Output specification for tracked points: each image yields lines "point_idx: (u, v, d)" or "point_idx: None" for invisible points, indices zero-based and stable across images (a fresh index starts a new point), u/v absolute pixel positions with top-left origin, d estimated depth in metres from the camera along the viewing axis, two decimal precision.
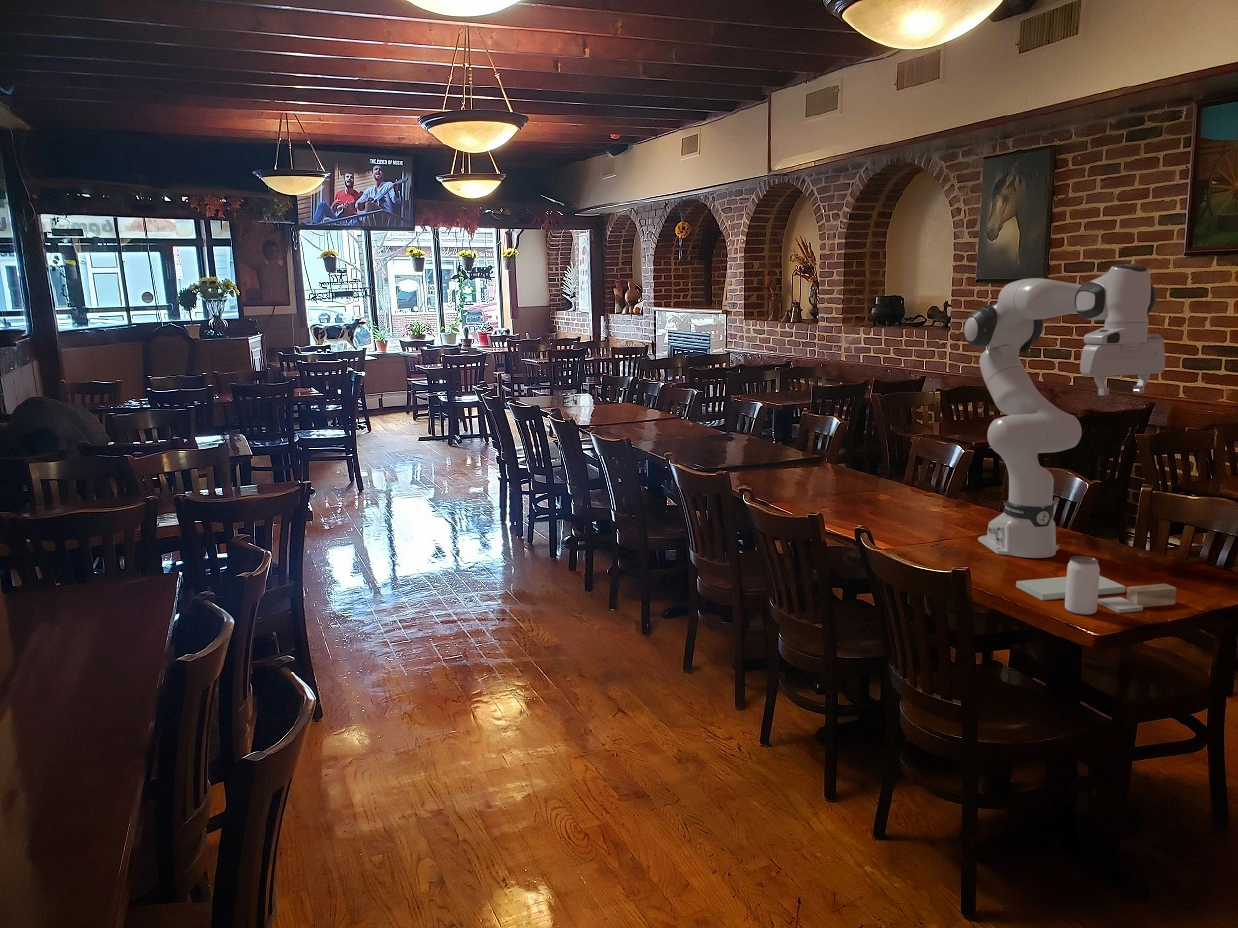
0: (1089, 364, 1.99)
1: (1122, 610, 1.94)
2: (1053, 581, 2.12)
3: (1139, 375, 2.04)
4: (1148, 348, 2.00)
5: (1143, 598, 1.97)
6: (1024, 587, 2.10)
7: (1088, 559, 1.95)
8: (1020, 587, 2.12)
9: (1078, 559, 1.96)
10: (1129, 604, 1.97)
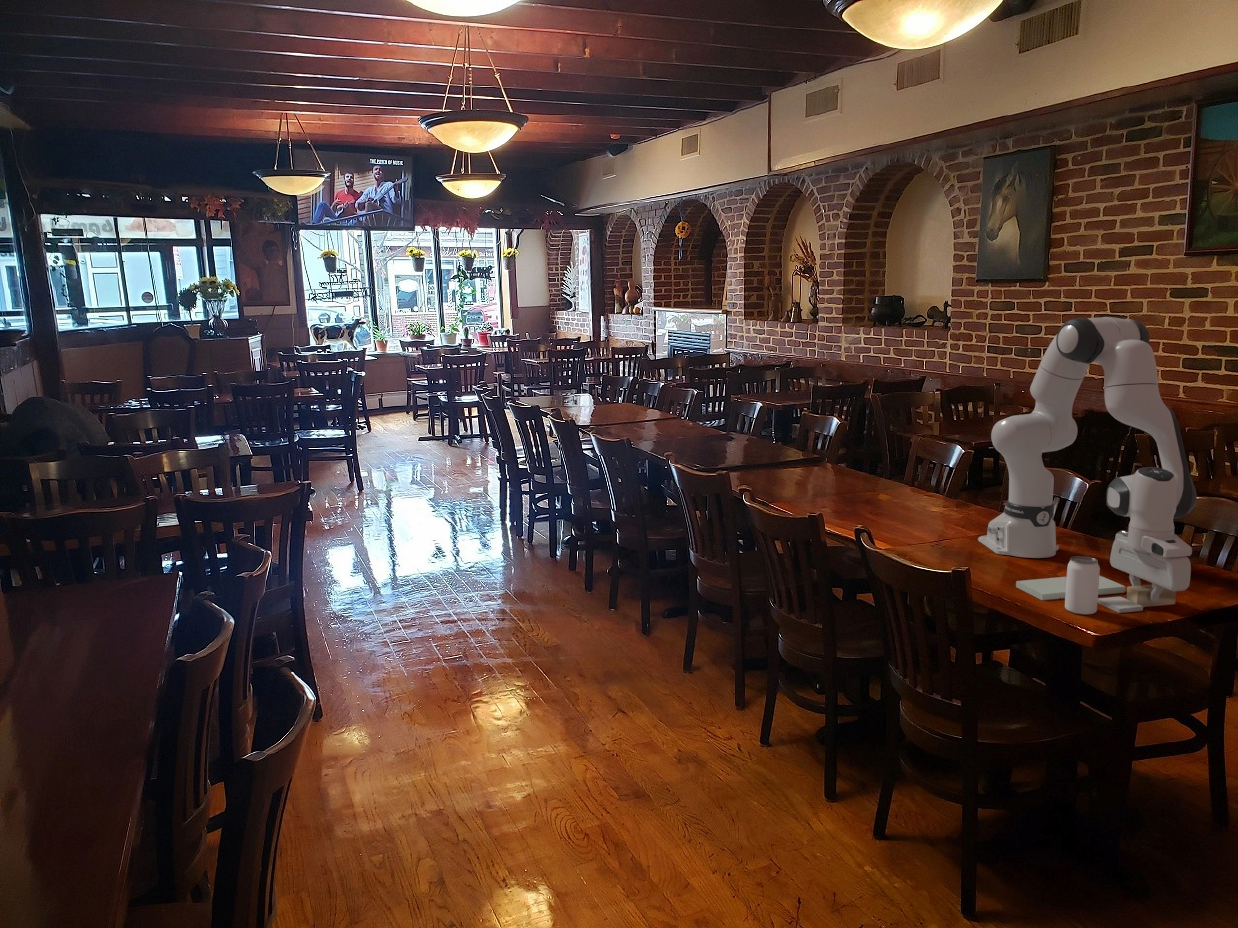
0: (1187, 579, 1.88)
1: (1122, 610, 1.94)
2: (1053, 581, 2.12)
3: (1135, 576, 2.01)
4: None
5: (1143, 598, 1.97)
6: (1024, 587, 2.10)
7: (1088, 559, 1.95)
8: (1020, 587, 2.12)
9: (1078, 559, 1.96)
10: (1129, 604, 1.97)
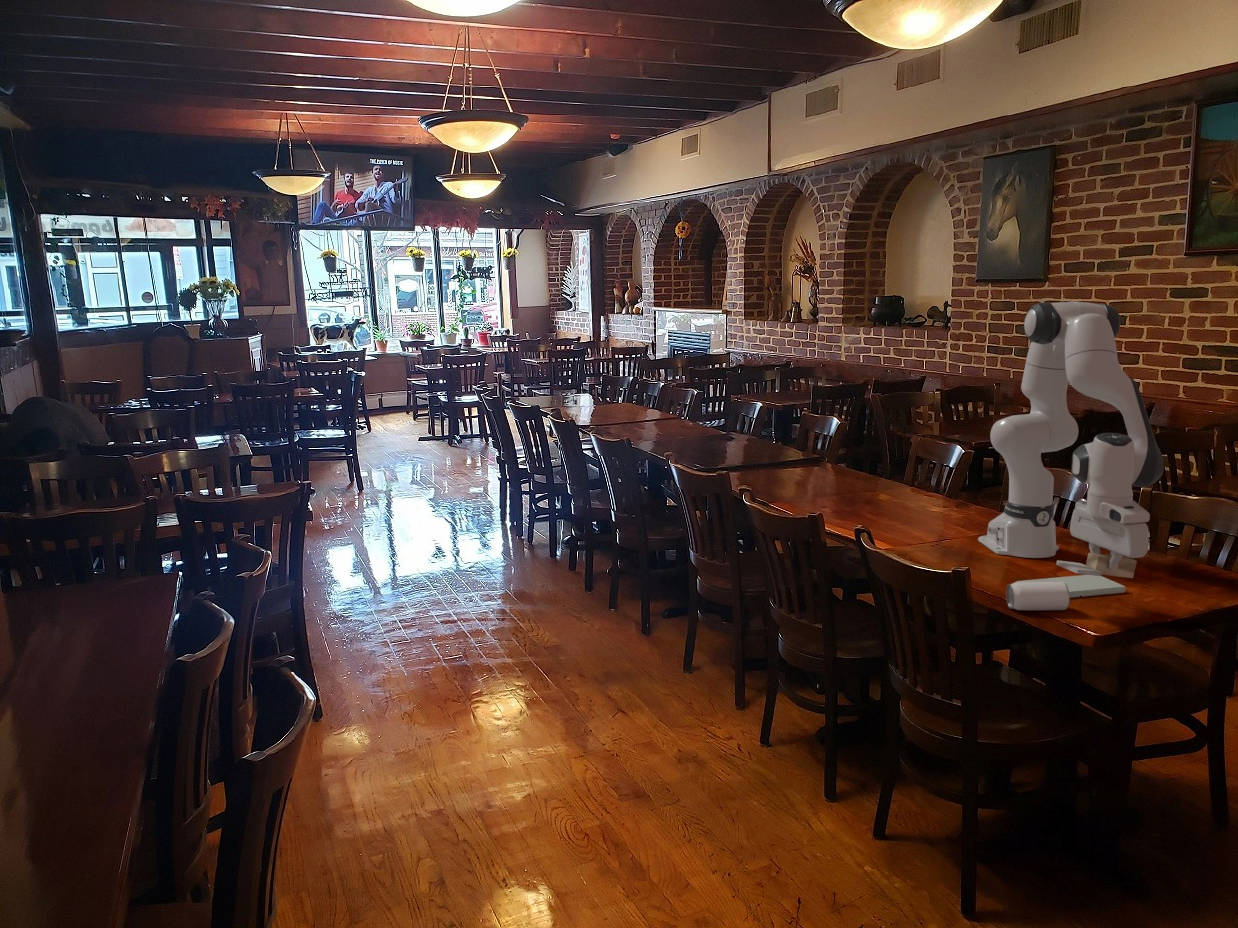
0: (1145, 545, 1.85)
1: (1080, 571, 1.91)
2: (1053, 581, 2.12)
3: (1095, 545, 1.97)
4: None
5: (1103, 565, 1.94)
6: None
7: (1009, 589, 2.00)
8: None
9: (1009, 597, 2.00)
10: (1088, 568, 1.93)
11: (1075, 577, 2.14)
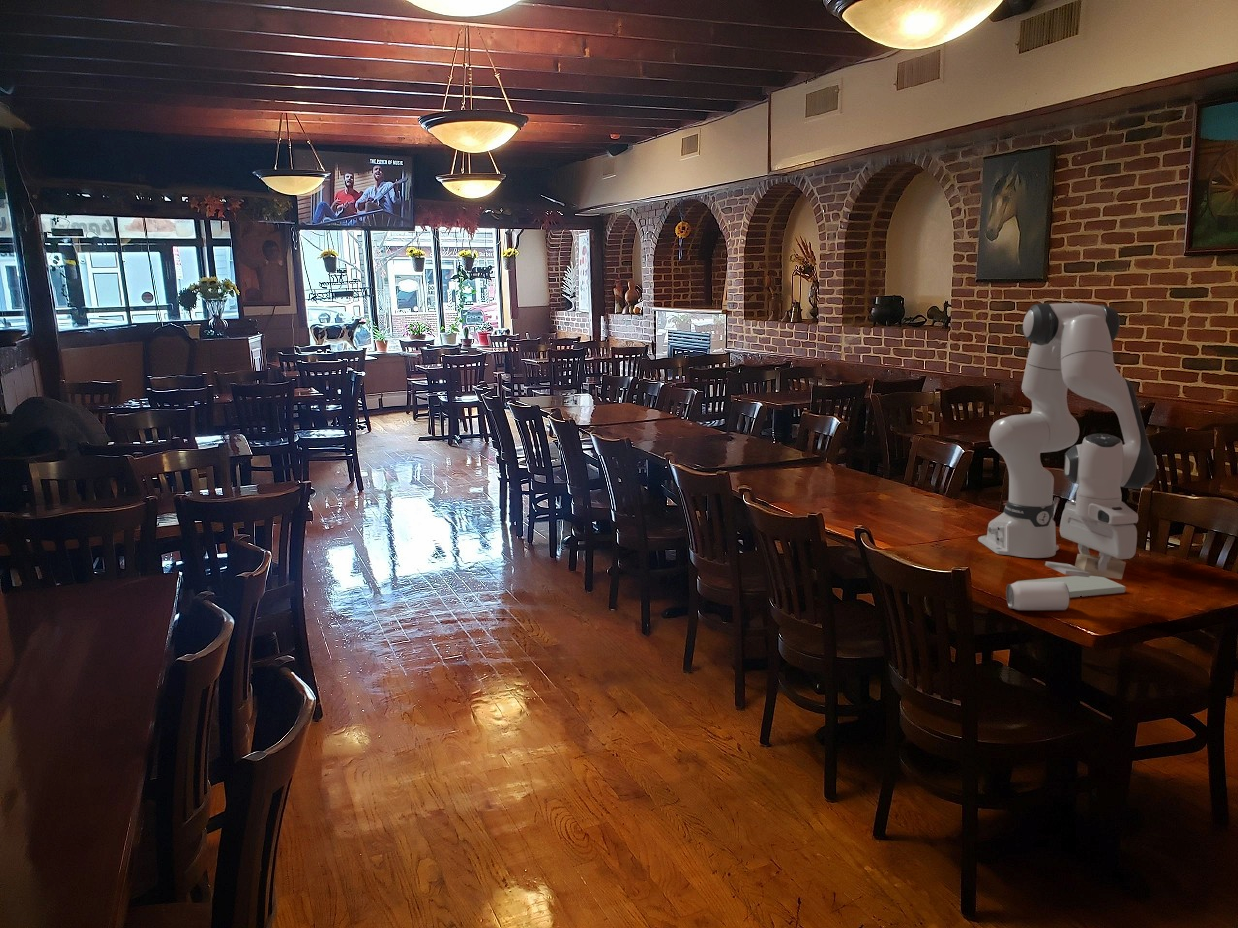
0: (1133, 546, 1.84)
1: (1069, 572, 1.90)
2: (1053, 581, 2.12)
3: (1084, 546, 1.97)
4: None
5: (1091, 566, 1.93)
6: None
7: (1009, 589, 2.00)
8: None
9: (1009, 597, 2.00)
10: (1077, 569, 1.93)
11: (1075, 577, 2.14)
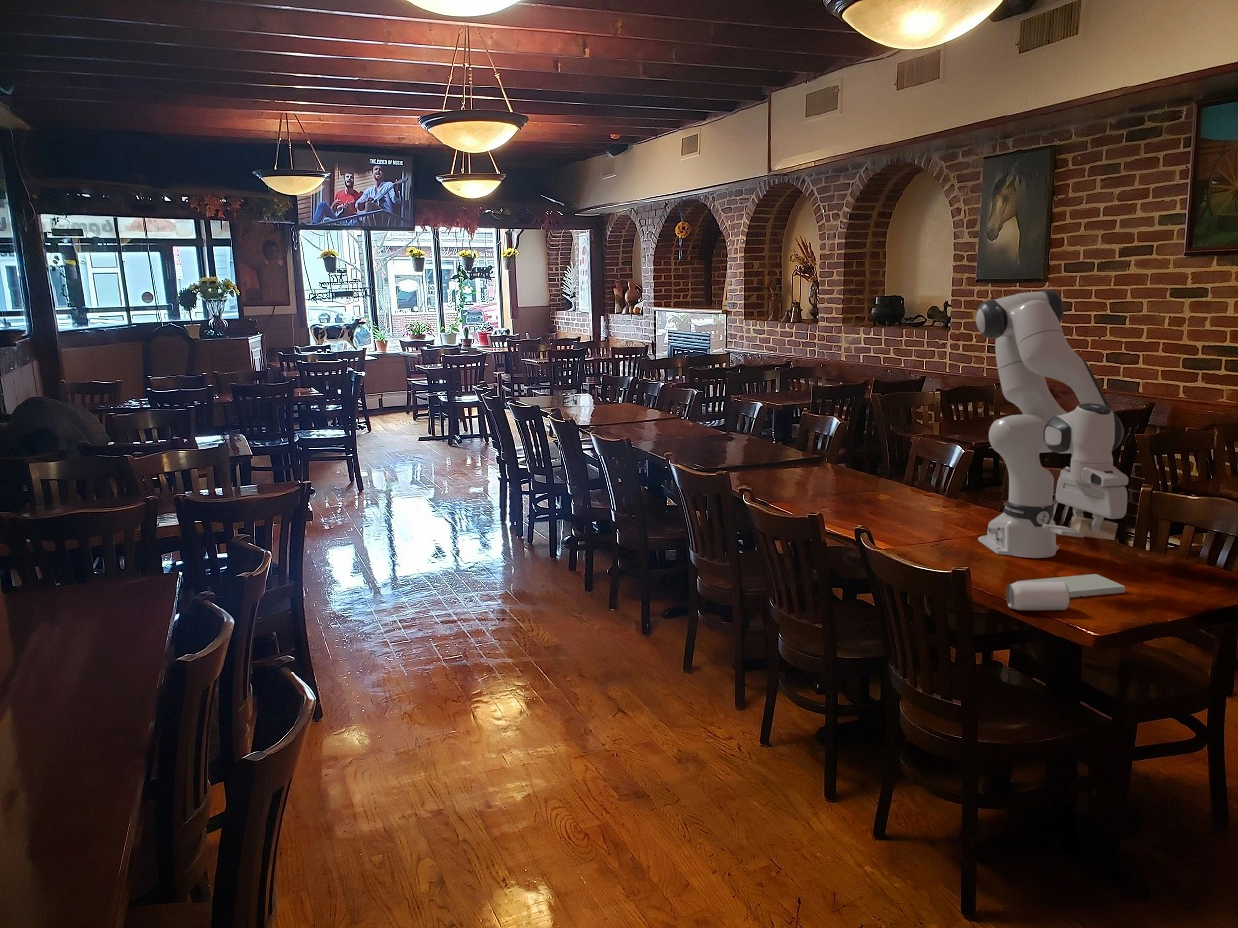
0: (1124, 507, 1.97)
1: (1064, 532, 2.03)
2: (1053, 581, 2.12)
3: (1078, 509, 2.10)
4: None
5: (1086, 527, 2.06)
6: None
7: (1009, 589, 2.00)
8: None
9: (1009, 597, 2.00)
10: (1072, 530, 2.06)
11: (1075, 577, 2.14)
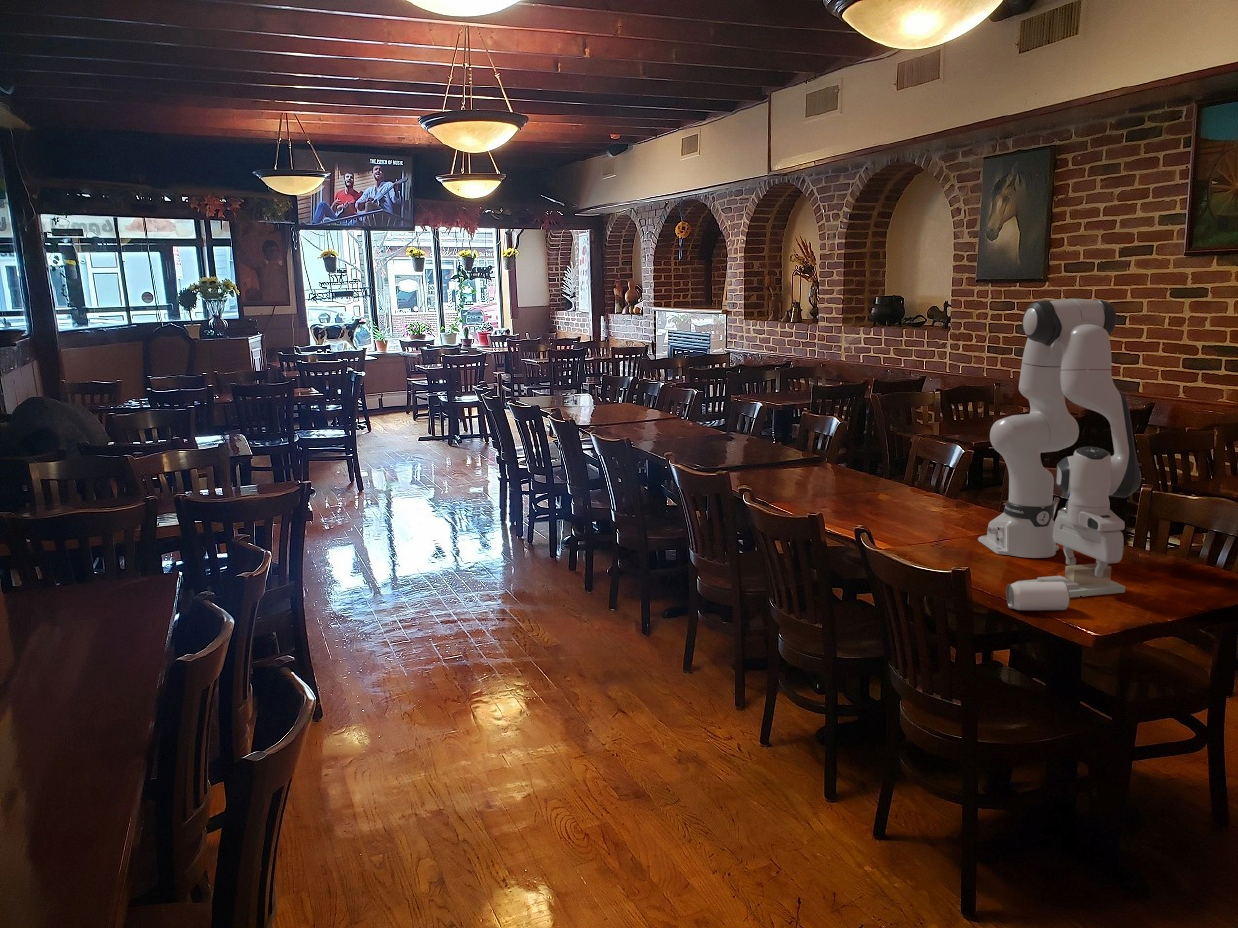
0: (1120, 551, 1.99)
1: None
2: None
3: (1068, 548, 2.14)
4: None
5: (1080, 576, 2.08)
6: None
7: (1009, 589, 2.00)
8: None
9: (1009, 597, 2.00)
10: (1066, 582, 2.08)
11: None
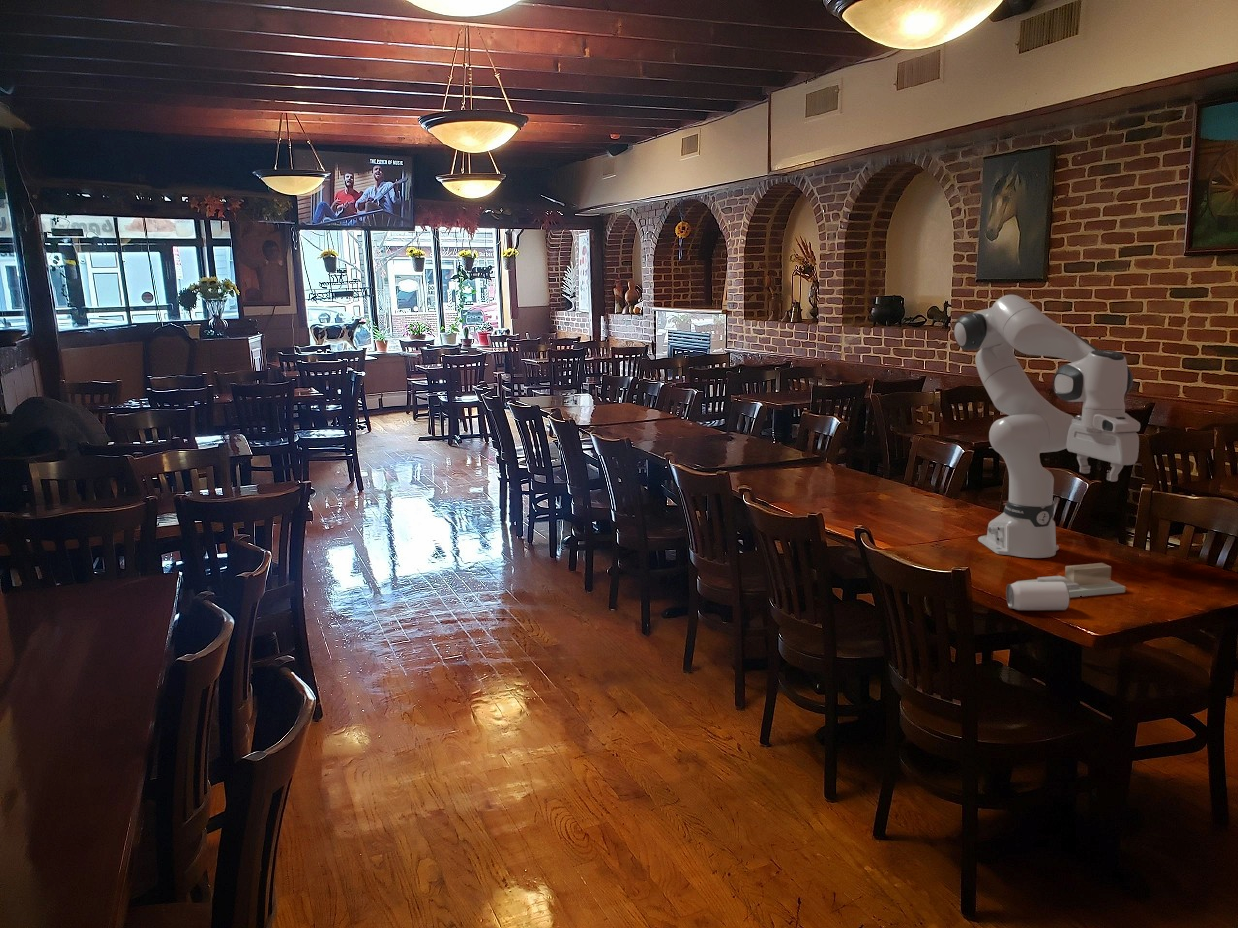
0: (1135, 453, 1.96)
1: None
2: None
3: (1082, 456, 2.11)
4: None
5: (1080, 576, 2.08)
6: None
7: (1009, 589, 2.00)
8: None
9: (1009, 597, 2.00)
10: (1066, 582, 2.08)
11: None
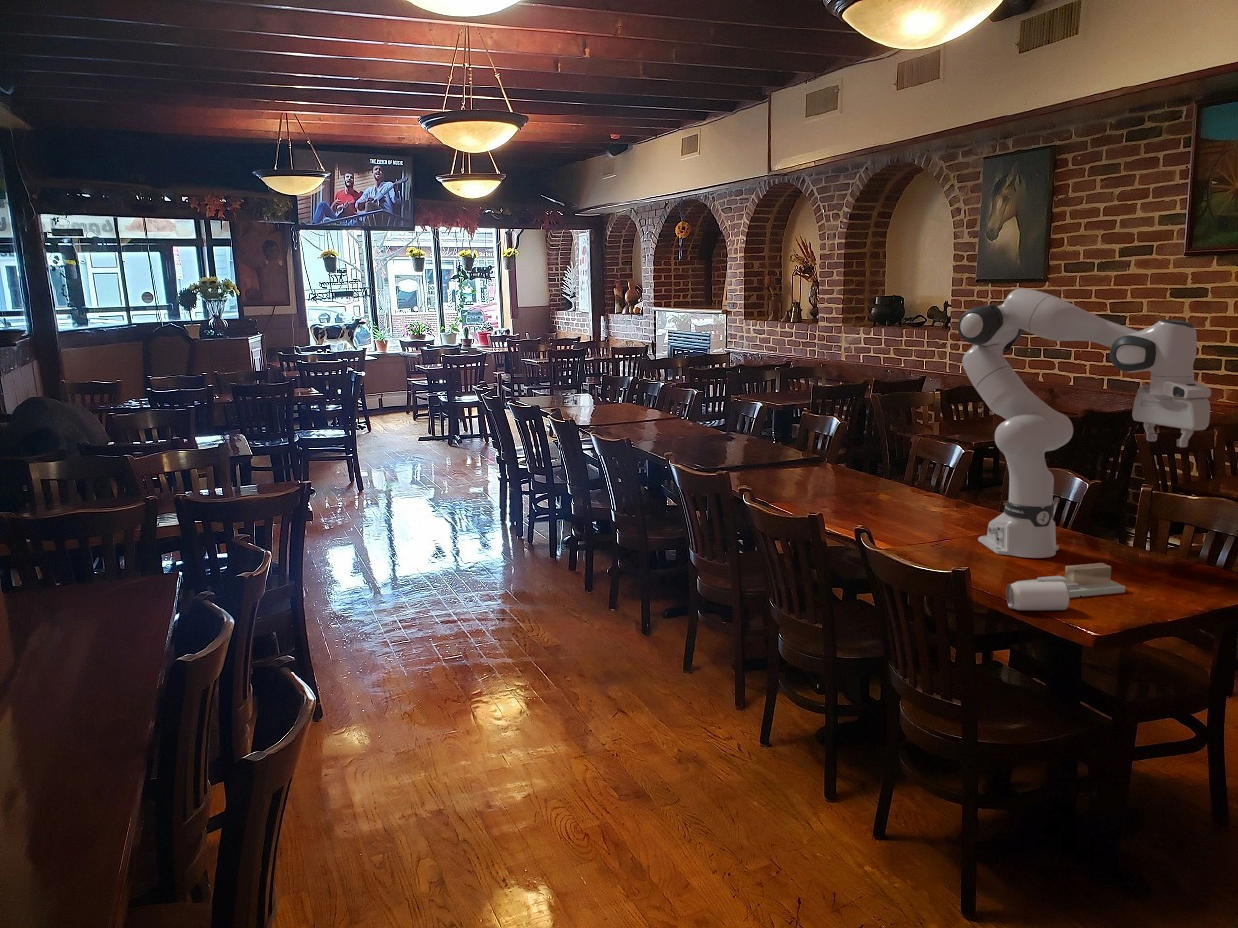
0: (1207, 418, 2.00)
1: None
2: None
3: (1149, 424, 2.15)
4: None
5: (1080, 576, 2.08)
6: None
7: (1009, 589, 2.00)
8: None
9: (1009, 597, 2.00)
10: (1066, 582, 2.08)
11: None
